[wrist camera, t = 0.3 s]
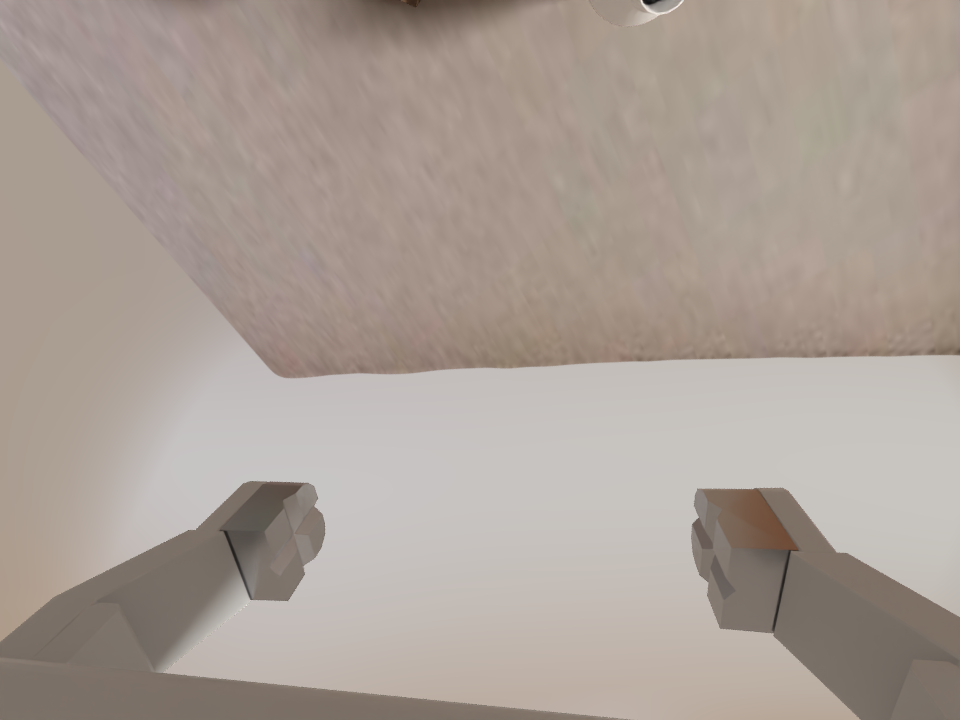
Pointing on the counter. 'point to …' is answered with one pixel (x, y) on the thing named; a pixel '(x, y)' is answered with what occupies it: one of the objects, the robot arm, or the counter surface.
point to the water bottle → (632, 10)
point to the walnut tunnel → (411, 2)
